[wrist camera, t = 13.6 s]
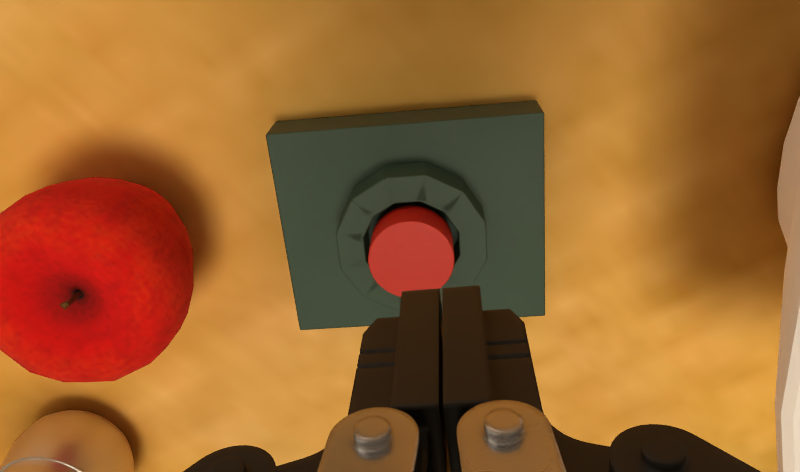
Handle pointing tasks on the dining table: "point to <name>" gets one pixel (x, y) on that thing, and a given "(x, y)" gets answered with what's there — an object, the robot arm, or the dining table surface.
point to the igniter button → (411, 250)
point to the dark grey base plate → (411, 203)
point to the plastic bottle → (70, 445)
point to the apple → (92, 279)
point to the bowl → (789, 305)
